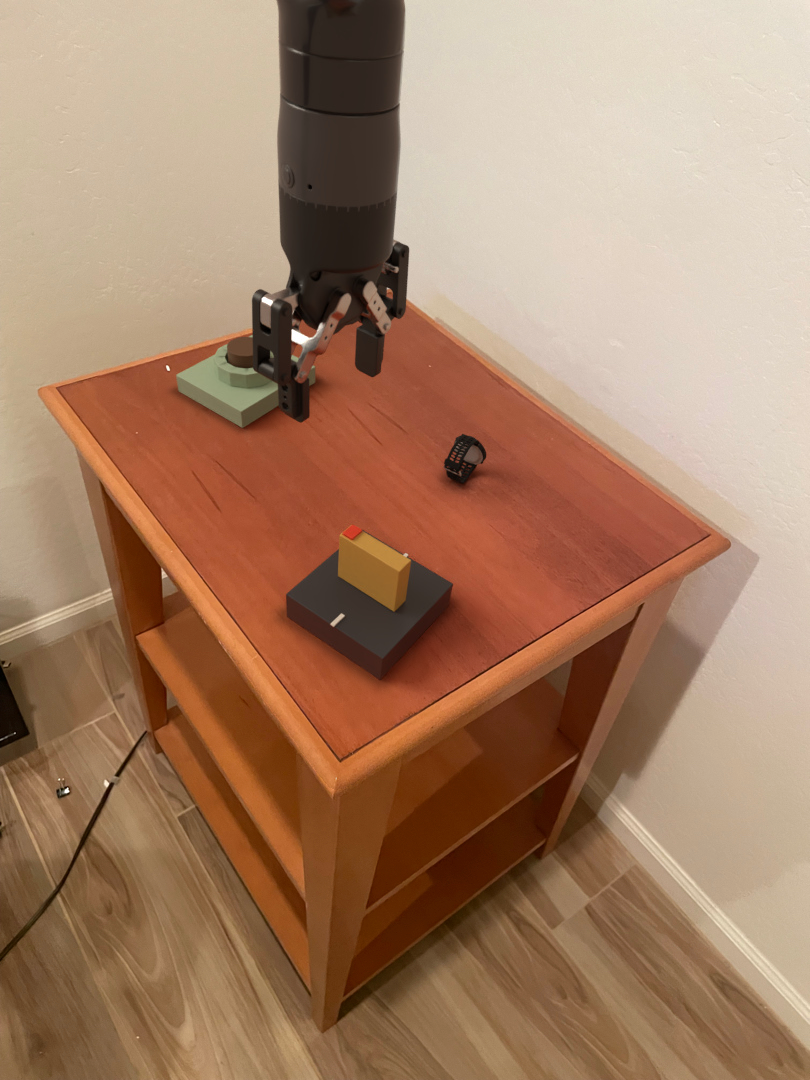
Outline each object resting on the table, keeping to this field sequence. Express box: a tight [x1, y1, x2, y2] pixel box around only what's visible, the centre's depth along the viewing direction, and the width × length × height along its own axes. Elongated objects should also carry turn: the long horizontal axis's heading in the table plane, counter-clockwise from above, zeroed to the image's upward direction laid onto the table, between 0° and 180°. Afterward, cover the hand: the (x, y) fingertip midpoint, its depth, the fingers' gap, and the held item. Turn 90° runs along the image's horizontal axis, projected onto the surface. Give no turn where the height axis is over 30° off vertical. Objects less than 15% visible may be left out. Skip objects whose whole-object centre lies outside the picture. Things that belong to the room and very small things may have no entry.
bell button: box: [226, 336, 253, 369], centre depth 81 cm, size 4×4×2 cm
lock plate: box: [285, 528, 454, 681], centre depth 62 cm, size 10×10×3 cm
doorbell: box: [175, 334, 316, 429], centre depth 83 cm, size 12×10×4 cm
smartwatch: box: [443, 433, 487, 485], centre depth 75 cm, size 4×5×5 cm
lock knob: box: [338, 524, 411, 612], centre depth 59 cm, size 6×2×5 cm, turn 54°
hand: (333, 393), depth 58 cm, fingers open, 8 cm apart
